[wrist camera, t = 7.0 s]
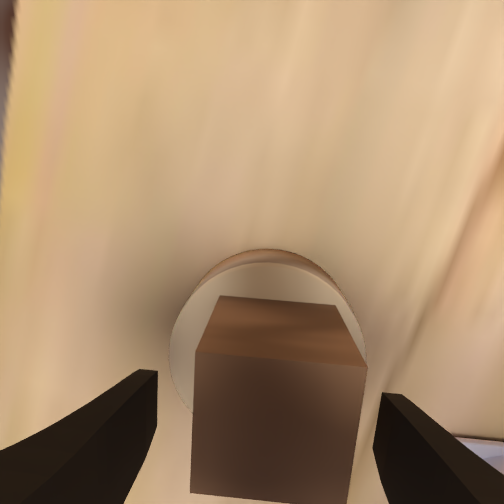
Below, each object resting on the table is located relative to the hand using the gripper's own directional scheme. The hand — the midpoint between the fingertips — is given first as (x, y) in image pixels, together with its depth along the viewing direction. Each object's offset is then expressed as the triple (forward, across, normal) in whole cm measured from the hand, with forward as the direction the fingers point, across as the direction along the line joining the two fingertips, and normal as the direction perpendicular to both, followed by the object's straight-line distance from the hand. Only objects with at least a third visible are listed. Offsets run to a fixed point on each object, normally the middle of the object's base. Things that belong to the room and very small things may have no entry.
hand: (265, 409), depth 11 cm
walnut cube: (+3, 0, 0) cm, 3 cm away
